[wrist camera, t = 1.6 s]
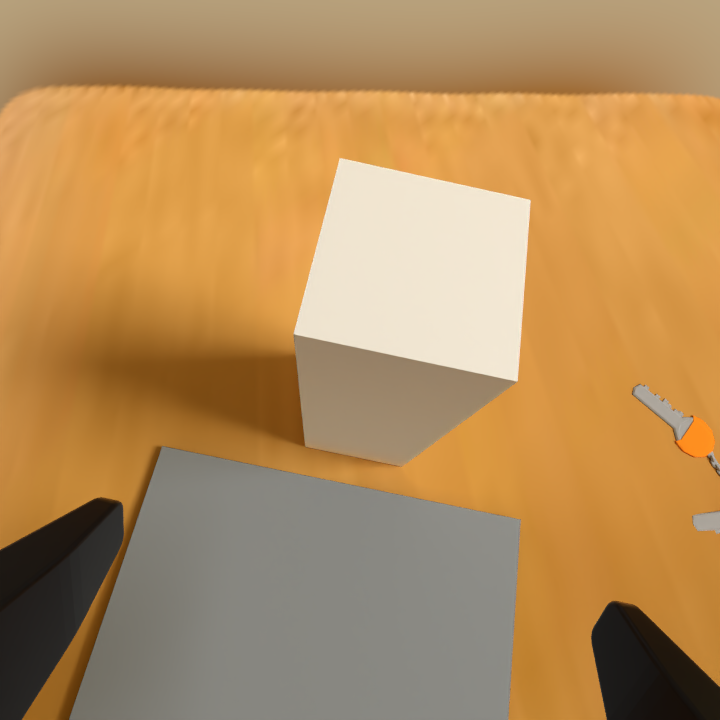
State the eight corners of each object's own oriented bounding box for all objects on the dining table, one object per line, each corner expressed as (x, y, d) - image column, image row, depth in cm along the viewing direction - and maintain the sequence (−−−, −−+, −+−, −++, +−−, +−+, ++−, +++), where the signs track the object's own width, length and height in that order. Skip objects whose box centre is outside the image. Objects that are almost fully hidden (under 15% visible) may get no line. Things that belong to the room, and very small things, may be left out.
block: (401, 466, 21) (517, 381, 9) (305, 446, 21) (293, 334, 9) (416, 375, 23) (530, 199, 11) (326, 356, 23) (339, 157, 11)
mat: (483, 1026, 15) (488, 1038, 15) (-2, 938, 15) (-10, 947, 15) (516, 520, 21) (520, 519, 21) (165, 447, 21) (162, 446, 20)
